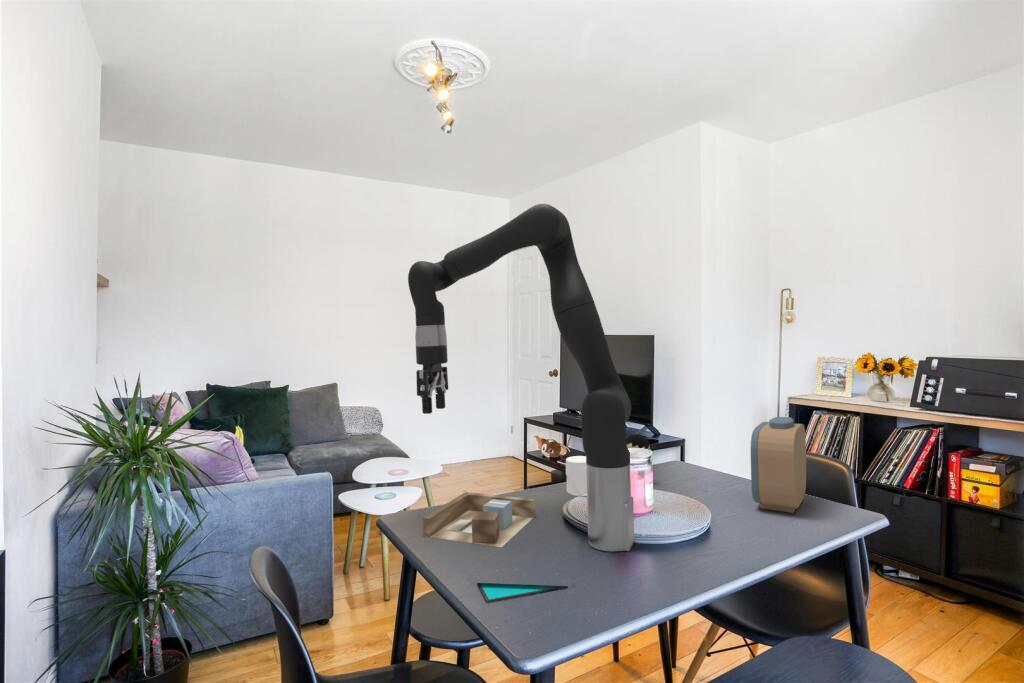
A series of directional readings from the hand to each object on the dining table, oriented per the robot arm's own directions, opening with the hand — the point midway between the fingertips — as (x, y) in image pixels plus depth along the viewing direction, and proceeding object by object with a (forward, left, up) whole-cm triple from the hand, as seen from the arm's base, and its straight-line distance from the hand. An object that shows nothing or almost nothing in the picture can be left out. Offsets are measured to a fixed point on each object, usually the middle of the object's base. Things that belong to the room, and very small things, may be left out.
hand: (434, 410), depth 129 cm
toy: (-40, -46, -27) cm, 67 cm away
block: (-16, 0, -26) cm, 31 cm away
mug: (-27, -34, -27) cm, 51 cm away
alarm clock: (-77, -40, -27) cm, 91 cm away
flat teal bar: (-32, +23, -28) cm, 48 cm away
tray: (-13, +1, -27) cm, 30 cm away
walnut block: (-17, +8, -26) cm, 32 cm away
